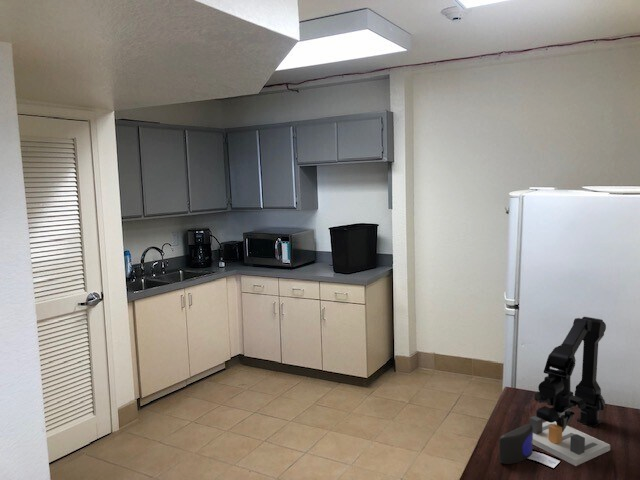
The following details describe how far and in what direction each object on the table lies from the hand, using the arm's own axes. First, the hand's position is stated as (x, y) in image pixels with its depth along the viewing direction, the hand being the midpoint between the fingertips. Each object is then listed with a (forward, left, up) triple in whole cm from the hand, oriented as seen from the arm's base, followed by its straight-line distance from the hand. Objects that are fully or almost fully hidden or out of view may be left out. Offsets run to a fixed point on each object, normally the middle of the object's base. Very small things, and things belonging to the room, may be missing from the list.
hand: (561, 431), depth 178 cm
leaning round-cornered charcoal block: (+19, -3, -5) cm, 20 cm away
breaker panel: (-1, 0, -5) cm, 5 cm away
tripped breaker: (+3, 0, -2) cm, 4 cm away
